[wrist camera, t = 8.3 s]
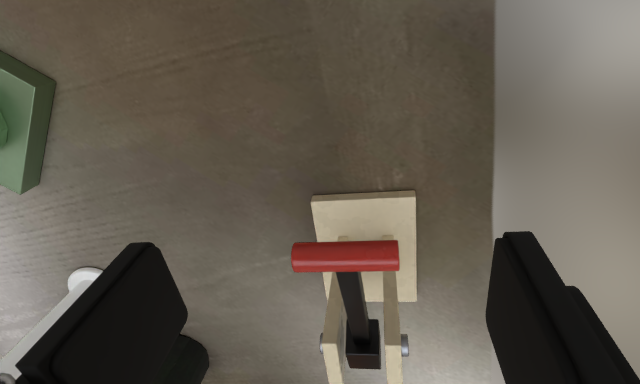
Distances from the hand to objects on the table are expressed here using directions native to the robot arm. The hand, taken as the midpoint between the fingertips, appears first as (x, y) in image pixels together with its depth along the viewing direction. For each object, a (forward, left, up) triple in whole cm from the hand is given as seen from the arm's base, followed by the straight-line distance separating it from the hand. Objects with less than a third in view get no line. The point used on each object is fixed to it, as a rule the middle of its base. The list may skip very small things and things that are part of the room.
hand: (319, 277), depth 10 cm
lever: (+7, +6, -9) cm, 13 cm away
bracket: (+12, +9, -20) cm, 25 cm away
